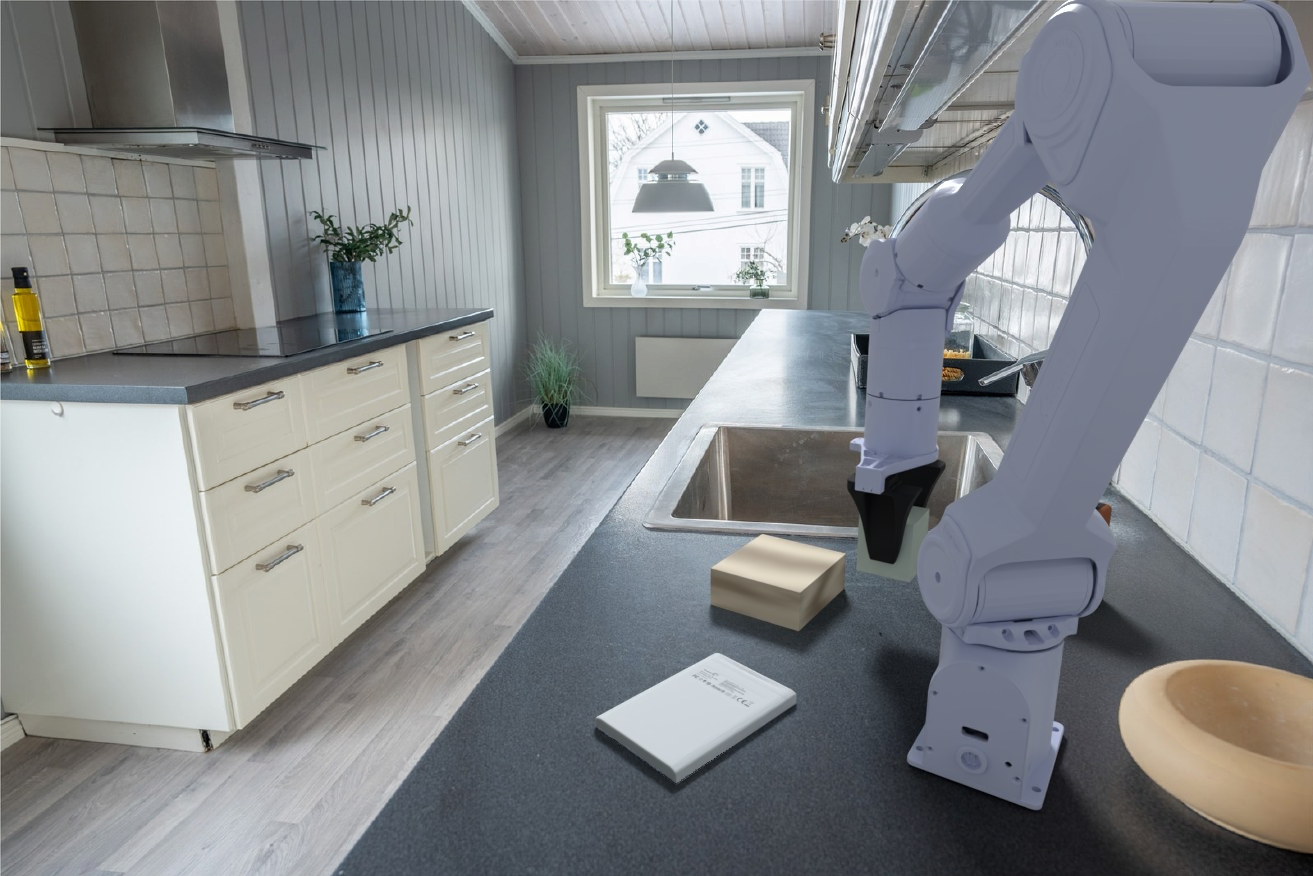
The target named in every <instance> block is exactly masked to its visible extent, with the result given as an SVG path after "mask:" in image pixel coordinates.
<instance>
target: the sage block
mask: <svg viewBox="0 0 1313 876" xmlns="http://www.w3.org/2000/svg"><path fill="white" fill-rule="evenodd" d="M929 520H930V508H927V507H926V508H922V507H916V506H912V508H911V511H910V514H909V516H908V519H907V523H906V526H905V530H904V535H903V540H902V545H901V549H900V552H899V555H898V558H897V560H896V562H895V563H894V564H889V563H884V562H880V561H875V560H871V559H870V558H869V554H868V550H867V545H866V540H865V534H864V530H863V525H862V521H861V517H860V514H859V515H858V529H857V530H858V531H857V532H858V533H857V546H856V547H857V553H856V566H855V567H856V568H855V569H856V571H858V572H862V573H867V574H870V575H871V574H872V575H876V576H880V577H884V578H887V579H888V578H889V579H893V580H897V581H901V582H906V583H910V582H911V581H912V580H913V579H914V578H915V576H916V575H917V557H918V552H919V548H920V546H921V544H922V542H923V540H924V538H925V536H926V534H927V533H928V532H929Z"/></svg>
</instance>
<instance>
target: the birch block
mask: <svg viewBox="0 0 1313 876" xmlns="http://www.w3.org/2000/svg"><path fill="white" fill-rule="evenodd" d="M846 556H847V553H845V552H841V551H836V550H831V549H828V548H824V547H820V546H816V545H811V544H807V543H802V542H799V541H793V540H789V539H785V538H781V537H777V536H772V535H769V534H764V533H762V534H760V535H759V536H757V537H756V538H754V539H753V540H751V541H749V542H748V543H746V544H745V545H742V546H741V548H739V549H738V550H736V551H734V552H733V553H731V554H729V555H728V556H727V557H725V558H724V559H722V560H721V561H719V562H717V564H714V565H713V566H712V567H710V599H709V600H710V602H709V603H710V604H709V605H711V606H715V607H717V608H721V609H723V610H727V611H730V612H734V613H737V614H740V615H743V616H747V617H751V618H754V619H757V620H760V621H764V622H768V623H769V624H773V625H777V626H779V627H783V628H787V629H790V630H793V631H796V632H800V631H801V630H802V629H803V628H804V627H805V626H806V625H807V624H808V623H809V622H810V621H811V620H812V619H813V618H814V617H815V616H817V615H818V614H819V613H820V612H821V611H822V610H823V609H824V608H825V607H826V606H827V605H829V604H830V602H831V601H832V600H834V599H835V598H836V597H837V596H838V594H840V593H841V592H842V591H843V590H844V589H845V582H846V581H845V576H846V560H847V557H846Z"/></svg>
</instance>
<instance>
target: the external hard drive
mask: <svg viewBox="0 0 1313 876" xmlns="http://www.w3.org/2000/svg"><path fill="white" fill-rule="evenodd" d="M796 704H797V693H796V692H795V691H794V690H793V689H791V688H790V687H787V686H785V685H783V684H781V683H779V682H777V681H775V680H774V679H772V678H769V677H767V676H766V675H763V674H761V673H759V672H757V671H755V670H754V669H751V668H750V667H748V666H746V665H744V664H742V663H740V662H737V661H735V660H734V659H732V658H730V657H728V656H726V655H725V654H722V653H718V652H714V653H713V654H711V655H709V656H707V657H706V658H704V659H702V660H700V661H698V662H696V663H694V664H693V665H691V666H689V667H687V668H685V669H683V670H681V671H679V672H678V673H675V674H673V675H672V676H670V677H668V678H666V679H664V680H663V681H661V682H659V683H657V684H655V685H653V686H652V687H649V688H647V689H645V690H644V691H642V692H639V693H638V694H636V695H634V696H632V697H631V698H629V699H627V700H625V701H624V702H622V703H620V704H618V705H616V706H614V707H613V708H611V709H609V710H606V711H605V712H603V713H602V714H600V715H598V716H596V717H595V720H594V721H595V725H596V724H597V725H598V726H599V727H600V728H602V729H603V730H605V732H607V733H609V735H611V736H612V737H614V738H615V739H617V741H619V742H621V743H623V744H624V745H626V746H628V747H629V748H630V749H632V750H633V751H635V752H636V753H637V754H638V755H640V756H642V758H644V759H645V760H647V762H649V763H651V764H652V765H654V767H656V768H657V769H659V770H661V771H662V772H663V773H664V774H666V775H667V776H668V777H670V778H671V779H672V780H674V781H675V782H676V783H677V782H679V781H681V779H683V778H685V776H687V775H689V774H691V773H693V771H695V769H698V768H700V767H701V766H702V765H704V764H706V763H707V762H709V761H710V762H712V761H713V760H714V758H715V759H717V757H716V756H718V755H719V756H721V755H722V754H724V753H725V752H727V751H729V750H730V749H731V748H732V746H733V747H734V746H735V745H737V744H739V743H740V742H741V741H743V740H744V739H746V738H747V737H748V736H750V735H752V734H753V733H755V732H756V731H758V730H759V729H761V728H763V726H766V725H767V724H768V723H770V722H771V721H773V720H774V719H776V718H777V717H778V716H780V715H781V714H784V712H786V711H787V710H788V709H790V708H792V707H793V706H795V705H796ZM729 748H730V749H729ZM726 750H727V751H726ZM723 752H724V753H723ZM721 753H722V754H721ZM720 754H721V755H720ZM719 756H718V757H719ZM711 760H712V761H711ZM710 762H709V763H710ZM707 764H708V763H707ZM707 764H706V765H707ZM704 766H705V765H704ZM700 769H701V768H700ZM693 774H694V773H693ZM691 775H692V774H691ZM685 779H686V778H685ZM681 782H682V781H681ZM679 783H680V782H679Z"/></svg>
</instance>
